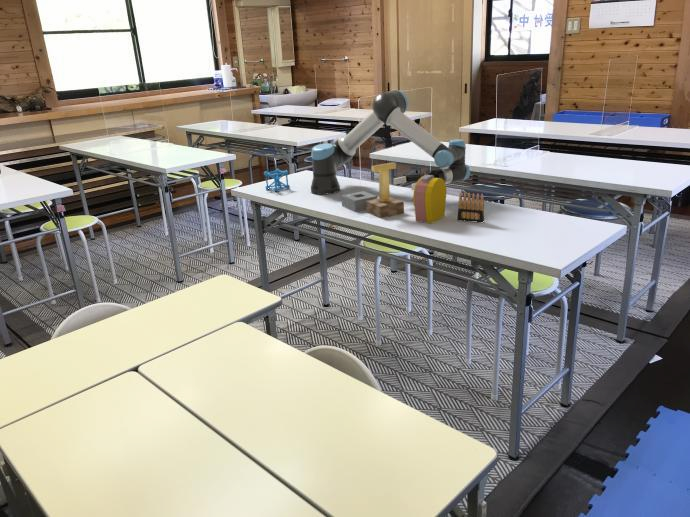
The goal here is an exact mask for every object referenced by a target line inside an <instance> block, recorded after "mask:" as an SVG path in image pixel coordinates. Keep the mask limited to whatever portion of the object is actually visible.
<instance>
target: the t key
mask: <svg viewBox="0 0 690 517" xmlns="http://www.w3.org/2000/svg"><path fill="white" fill-rule="evenodd" d="M394 169H395V170H396V169H397V162H387V163H381V164H375V165H371V173H372V172H373V173H378V189H379V190H378V194H379V198H380V202H381V203H387V202H390V197H391V196H390V192H391V191H390V170H391V171H392V170H394Z"/></svg>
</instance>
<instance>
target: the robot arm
mask: <svg viewBox="0 0 690 517" xmlns="http://www.w3.org/2000/svg"><path fill="white" fill-rule="evenodd" d="M371 106H372V110H371V112H370V113H369V114H367V115H366V117H364V118H363V119H362V120H361V121H360V122H358V124H356V126H354V128H352V129H351V131H349V132H348V133H347V134H346V135H345V136H339V138H338V139H336V141H334V143H321V144H320V143H319V144H316V145H314V146H312V148H311V154H310V155H311V156H310V157H311V163H312V181H311V185H310V193H312V192H313V193H312V194H314V193H319V194H318V195H328V194H327V193H332V194H335V193H334V192H336V193H338V192H340V191H339V190H341V185H340V183H339V181H338V178H337V174H336V173H337V172H336V168H337V167H340V166H343V165H346V164H348V163H349V162H350V161H352V159H353V157H354V155H356V151H357V149H358V148H360V147H361V146H362V144H364V143H365V142H366V141H367V140H368V139H369V138H370V137H371V136H373V135H374V134H375V133H376V132H377V131H378V130H380V128H381V127H383V126H384V125H386V126H391V127H392V128H394V130H396V131H397V132H399V133H400V134H401V135H403V136H404V137H405V138H406V139H408V141H411V142H412V143H413V144H415V145H416V146H417V147H418V148H420V149H421V150H422V151H424V153H426V154H427V155H429V156H430V157H432V158H433V161H434V163H435V165H436V166H437V167H438V168H435V169H432V170H431V171H430V172H429V173H426V174H424V173H423V172H422V173H416V174H415V173H414V174H403V175H402V176H400V177H395V178H393V185H400V184H407V183H408V182H412V183H411V191H414V189H415V185H416V183H417V181H418V180H419V179H420V178H421V177H423V176H424V175H433V176H434V178H442V179H443V180H444V181H445V184H446V185H448V184H451V183H452V184H453V183H457V182H462V181H465V180H467V179H469V177H470V175H471V170H470V167H469V165H468V164H466V140H465V139H460V138H455V139H450V140H449V141H448V146H446V145H445V144H444V143H443V142H441V141H440V140H439V139H437V138H436V137H435V136H434V135H432V134H431V133H430V132H429V131H427V130H425V129H424V128H423V127H421V125H419V124H418V123H416V121H414V120H412V119H411V118H410V117H408V116H407V115H406V114H404V113H406V112H407V110H408V108H409V98H408V97H407V94H406V93H405V92H404V91H401V90H397V89H393V90H391V91H386V92H381V93H379V94H377V95H376V96H375V98H374V99H373V100H372V105H371ZM413 182H414V183H413ZM337 191H338V192H337Z"/></svg>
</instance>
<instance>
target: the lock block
mask: <svg viewBox="0 0 690 517" xmlns="http://www.w3.org/2000/svg"><path fill="white" fill-rule="evenodd" d="M404 205H405V201H402V200H399V199H396V198H394V197H391V196H390V202H387V203H381V202H380V198H378V197H377V199H374V200H369V201H366V209H365V210H366V211H365V212H366V213H368V214H370V215H373V216H375V217H378V218H380V219H383V218H387V217H393V216H396V215H397V216H398V215H401V214H405V206H404ZM392 215H393V216H392Z"/></svg>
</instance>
